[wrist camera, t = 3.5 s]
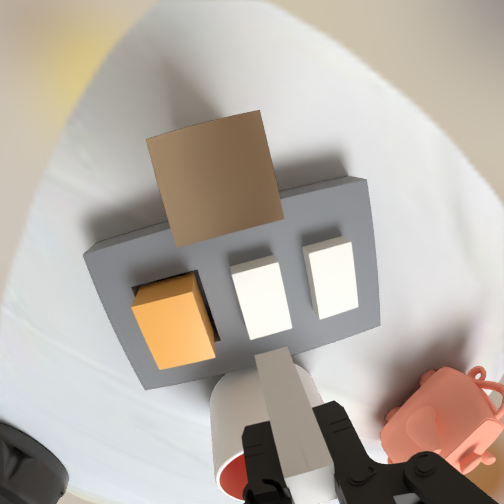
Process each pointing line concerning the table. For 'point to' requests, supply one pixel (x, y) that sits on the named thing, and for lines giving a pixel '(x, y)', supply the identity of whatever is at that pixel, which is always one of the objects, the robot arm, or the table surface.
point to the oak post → (216, 178)
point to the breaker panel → (213, 271)
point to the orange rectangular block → (174, 321)
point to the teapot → (446, 420)
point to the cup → (241, 422)
